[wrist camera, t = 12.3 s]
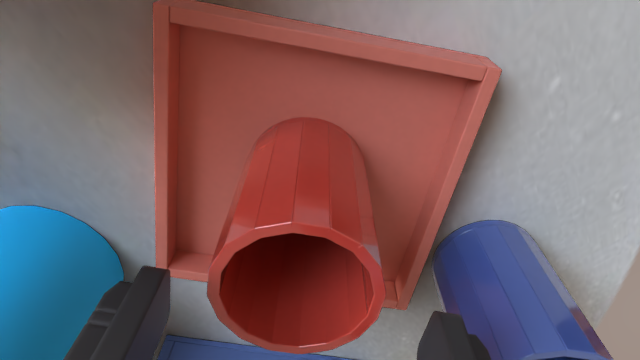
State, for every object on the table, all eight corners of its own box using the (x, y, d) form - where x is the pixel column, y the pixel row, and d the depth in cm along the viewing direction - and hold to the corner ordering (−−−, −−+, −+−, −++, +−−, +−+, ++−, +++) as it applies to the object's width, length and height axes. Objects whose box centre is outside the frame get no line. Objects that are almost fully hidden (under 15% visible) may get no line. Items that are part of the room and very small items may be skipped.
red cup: (377, 128, 19) (406, 239, 12) (351, 227, 22) (362, 363, 15) (253, 106, 19) (212, 209, 12) (242, 210, 22) (203, 342, 15)
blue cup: (553, 228, 23) (654, 361, 16) (510, 304, 25) (579, 445, 18) (450, 211, 22) (507, 341, 15) (418, 290, 25) (454, 430, 18)
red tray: (487, 56, 18) (503, 69, 17) (401, 285, 25) (406, 311, 23) (168, -6, 17) (152, 2, 15) (167, 251, 24) (155, 275, 22)
